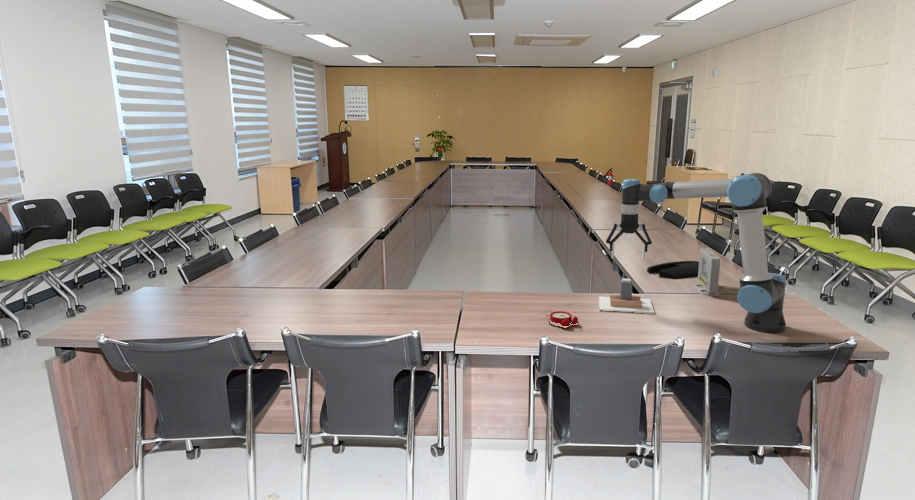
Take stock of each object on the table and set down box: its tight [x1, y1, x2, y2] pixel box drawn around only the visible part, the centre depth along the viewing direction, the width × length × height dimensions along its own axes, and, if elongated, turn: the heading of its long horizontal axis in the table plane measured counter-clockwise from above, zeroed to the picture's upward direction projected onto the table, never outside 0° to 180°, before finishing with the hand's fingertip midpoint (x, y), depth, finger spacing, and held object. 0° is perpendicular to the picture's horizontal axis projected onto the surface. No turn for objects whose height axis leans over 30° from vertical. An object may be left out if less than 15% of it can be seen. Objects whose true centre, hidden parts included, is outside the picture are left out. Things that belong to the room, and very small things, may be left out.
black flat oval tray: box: [646, 260, 699, 280], centre depth 316 cm, size 25×40×5 cm, turn 112°
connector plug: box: [619, 277, 633, 300], centre depth 256 cm, size 5×5×12 cm
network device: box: [693, 247, 721, 297], centre depth 278 cm, size 26×9×20 cm, turn 168°
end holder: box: [598, 293, 655, 315], centre depth 257 cm, size 20×24×4 cm
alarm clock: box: [544, 311, 580, 327], centre depth 234 cm, size 10×6×15 cm
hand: (627, 258), depth 252 cm, fingers open, 13 cm apart
